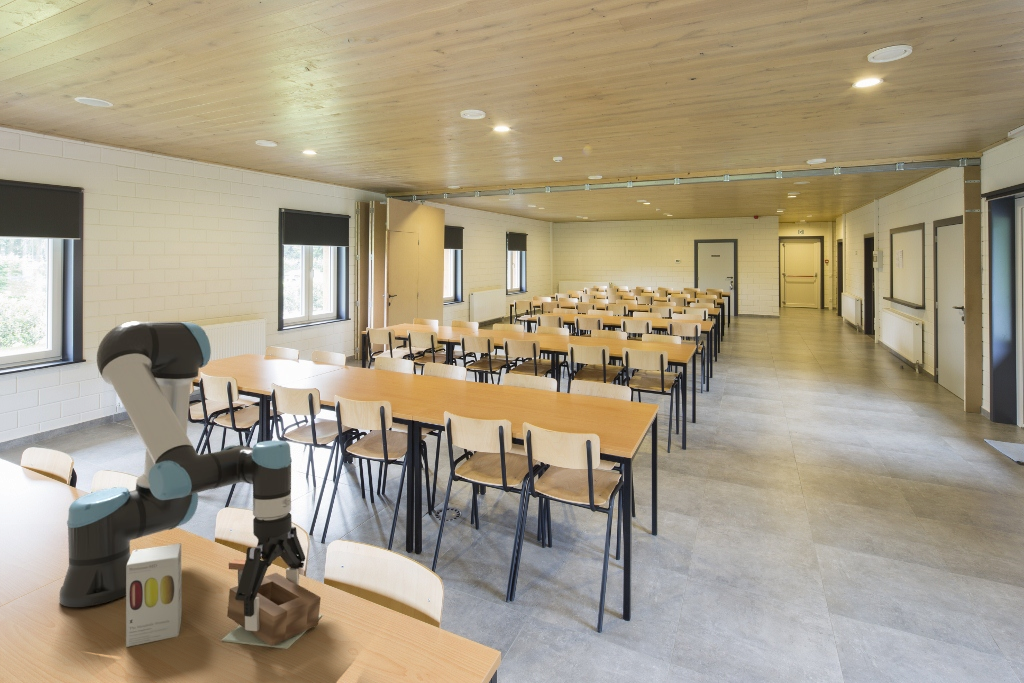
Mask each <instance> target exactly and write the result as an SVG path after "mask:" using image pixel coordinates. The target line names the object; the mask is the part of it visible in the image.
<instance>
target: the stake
mask: <svg viewBox="0 0 1024 683" xmlns="http://www.w3.org/2000/svg"><path fill="white" fill-rule="evenodd" d="M245 561H246V559H238V558H237V559H235V558H234V559H232V560H231V561H229V562H228V569H229V570H235V571H237V586H239V583H240V579H241V576H242V572H243V569H244V565H245Z"/></svg>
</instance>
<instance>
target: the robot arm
mask: <svg viewBox="0 0 1024 683" xmlns="http://www.w3.org/2000/svg"><path fill="white" fill-rule="evenodd" d="M211 352H212V350H211V344H210V340H209V337H208V335H207V333H206V331H205V330H204V329H203V327H202V326H200V325H199V324H196V323H193V322H187V321H186V322H184V321H139V320H136V321H135V320H134V321H129V322H128V321H127V322H123V323H121V324H119V325H117V326H115V327H114V328H112V329H111V330H110V331H109V332H107V333H106V334H105V335H104V337H103V338H102V340H101V341H100V343H99V345H98V348H97V352H96V363H97V368H98V371H99V373H100V375H101V378H102V379H103V380H104V382H105V383H107V384H108V385H111V386H113V389H114V390H115V393H116V394H117V395H118V397H119V399H120V402H121V403H122V405H123V407H124V410H125V411H126V413H127V414H128V416H129V418H130V420H131V422H132V424H133V426H134V428H135V430H136V432H137V433H138V436H139V437H140V440H141V441H142V444H143V445H144V447H145V457H144V459H145V460H144V471H143V473H142V474H141V475H140V476H139V477H137V479H136V482H135V488H134V489H135V490H131V491H130V490H129V489H128V488H127V487H123V486H117V487H110V488H103V489H99V490H96V491H92V492H89V493H87V494H85V495H82V496H80V497H78V498H76V499H75V500H74V501H73V502H72V503H70V505H69V507H68V516H67V521H66V524H67V530H68V532H67V535H68V537H67V538H68V568H67V571H66V574H65V576H64V580H63V582H62V586H61V588H60V590H59V603H60V604H61V605H62V606H64V607H70V608H83V607H90V606H91V607H92V606H97V605H100V604H105V603H108V602H112V601H116V600H118V599H121V598H123V597H126V565H127V563H128V560H129V558H130V556H131V542H130V541H133V540H136V539H139V538H143V537H146V536H150V535H154V534H158V533H161V532H165V531H167V530H168V531H170V530H174V529H175V528H177V527H180V526H183V525H185V524H187V523H188V522H190V521H191V520H192V518H194V515H195V514H196V513H197V512H196V511H197V508H198V504H199V493H200V492H206V491H208V490H209V491H210V490H213V489H214V490H216V489H219V488H222V487H228V486H231V485H235V484H240V483H243V484H244V483H245V484H249V485H252V515H253V516H254V518H253V520H252V522H253V523H252V524H253V525H252V528H253V532H252V533H253V536H254V537H256V538H257V545H256V546H255V547H252V546H248V547H247V548H246V555H245V560H246V561H245V565H244V569H243V572H242V576H241V579H240V583H239V586H238V585H237V586H238V590H237V593H236V597H235V599H236V600H239V601H244V616H245V630H250V631H258V630H259V597H256V596H257V593H258V591H259V588H260V586H261V583H262V581H263V578H264V577H265V576H266V574H267V570H268V568H269V567H270V566H271V565H272V563H273V562H274V561H275V560H277V558H281V559H282V560H283V562H285V564H286V565H287V566H288V567H287V568H286V569H285V578H287V579H289V580H291V581H292V582H294V583H296V584H298V585H300V569H303V568H304V565H305V563H304V562H305V560H306V555H305V552H304V550H303V548H302V545H301V542H300V540H299V537H298V534H297V527H296V526H292V522H293V521H292V513H291V511H292V461H293V460H292V457H291V445H290V443H288V442H287V441H286V440H265V441H260V442H257V443H254V445H253V447H249V446H247V445H241V444H238V445H228V446H225V447H224V448H222V449H221V450H220V451H219V450H218V451H215V452H209V453H204V454H199V453H198V452H197V451H196V449H195V447H194V446H193V443H192V442H191V441H190V438H189V436H188V434H187V432H188V422H189V410H190V409H189V408H190V397H191V396H190V395H191V385H192V382H193V381H195V380H196V379H197V378H198V377H199V369H201V368H203V367H205V366H207V365H208V362H210V360H211V354H212V353H211ZM242 593H243V594H242Z"/></svg>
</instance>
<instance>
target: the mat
mask: <svg viewBox="0 0 1024 683" xmlns="http://www.w3.org/2000/svg"><path fill="white" fill-rule="evenodd" d="M321 617H323V614H320V613H319V619H321ZM307 631H308V630H306V631H303V632H301V633H299V634H297V635H295V636H293V637H290V638H288V639H286V640H284V641H282V642H280V643H277V644H275V645H273V646H270V645H268V644H267V643H266V642H264V641H263V640H261V639H260V638H258V637H257V636H255V635H254V634H252V633H251V632H249V631H248V630H245V628H244V627H242V626H241V625H238V626H237V627H236V628H234V629H233V630H231V631H230V632H229V633H228V634H226V635H224V637H222V638H221V642H225V643H226V642H227V643H235V644H244V645H251V646H259V647H268V648H277V649H285V650H288V649H289V648H290V647H291V646H292V645H293V644H294V643H295V642H296V641H297V640H299V639H300V638H301V637H302V636H303V635H304V634H305V633H306V632H307Z"/></svg>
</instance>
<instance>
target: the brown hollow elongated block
mask: <svg viewBox="0 0 1024 683" xmlns="http://www.w3.org/2000/svg"><path fill="white" fill-rule="evenodd" d="M237 590H238V585H237V586H233V587H231V588H230V587H229V593H228V594H229V595H228V601H227V602H228V603H227V604H228V606H227V615H226V617H228V618H229V619H231V620H232V621H233V622H235V623H237V624H238V626H240V625H241V626H242V627H244V628H245V616H244V601H239V600H236V599H235V597H236V593H237ZM242 594H243V593H242ZM256 597H259V630H258V631H250V630H248V631H249V632H251V633H252V634H254V635H255V636H257V637H258V638H260V639H261V640H263V641H264V642H266V643H267V644H268V645H270V646H273V645H275V644H277V643H280V642H282V641H284V640H286V639H288V638H290V637H293V636H295V635H297V634H299V633H301V632H303V631H306V630H307V631H308V630H310V629H311V628H314V627H316V626H318V625H319V620H320V618H319V614H320V607H321V596H319V595H317V594H316V593H314V592H312V591H310V590H308V589H306V588H305V587H303V586H301V585H300V584H299V585H298V584H296V583H294V582H292V581H291V580H289V579H287V578H286V576H283V575H282V574H280V573H278V572H274V573H272V574H268V575H265V576H264V578H263V581H262V583H261V586H260V588H259V591H258V593H257V596H256ZM307 631H306V632H307Z"/></svg>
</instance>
